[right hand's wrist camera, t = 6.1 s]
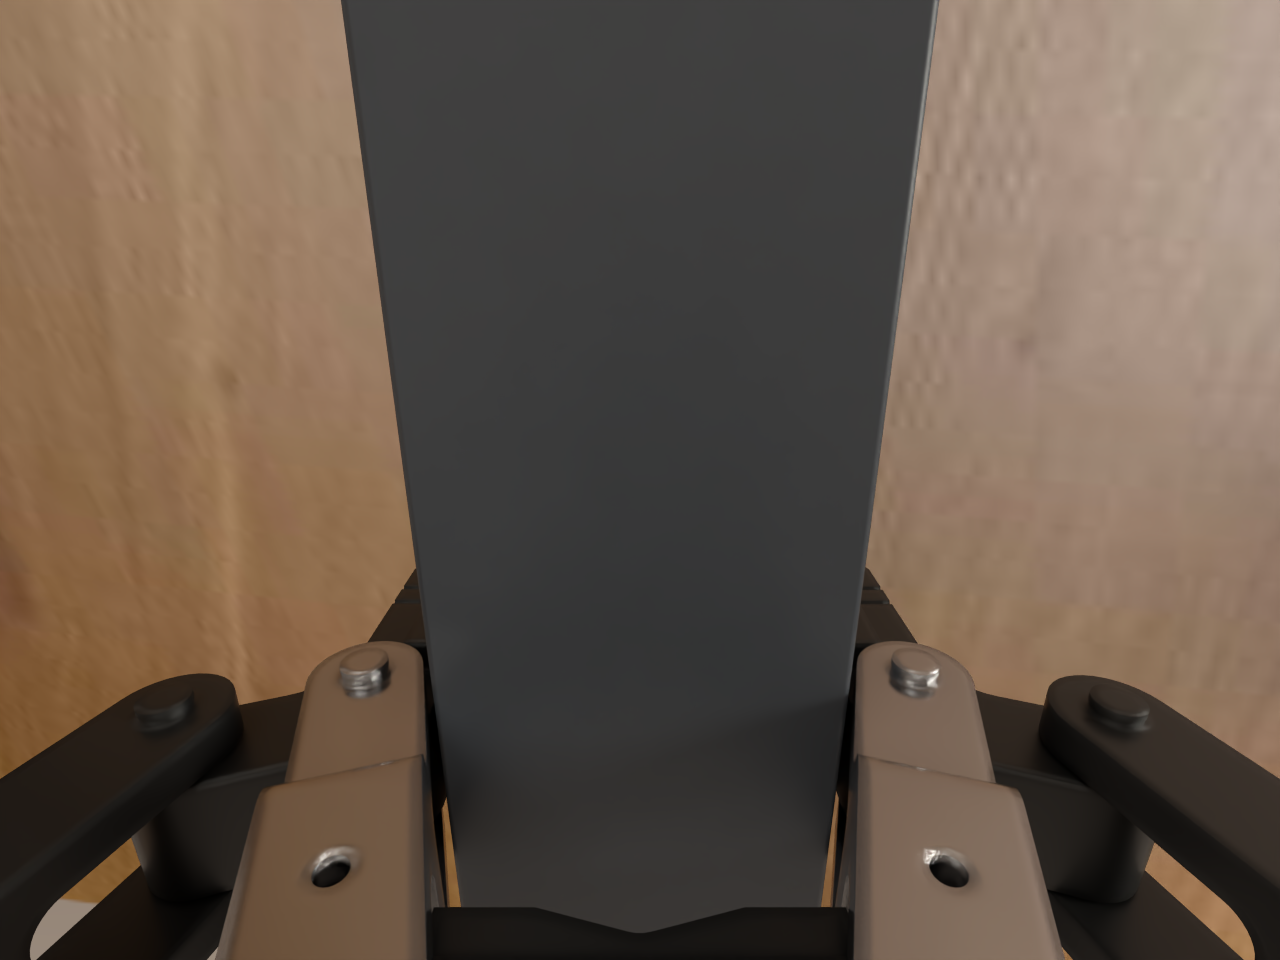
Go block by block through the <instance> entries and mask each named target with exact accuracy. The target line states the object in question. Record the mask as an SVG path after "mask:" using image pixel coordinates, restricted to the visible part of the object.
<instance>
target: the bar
mask: <svg viewBox="0 0 1280 960" xmlns="http://www.w3.org/2000/svg"><path fill="white" fill-rule="evenodd" d="M341 4H342V11H343V19H344V26H345V34H346V42H347V49H348V57H349V64H350V72H351V79H352V87H353V94H354V102H355V109H356V117H357V125H358V132H359V140H360V147H361V155H362V162H363V170H364V177H365V185H366V193H367V200H368V208H369V215H370V223H371V230H372V238H373V245H374V253H375V260H376V268H377V276H378V283H379V291H380V298H381V306H382V313H383V321H384V328H385V336H386V343H387V351H388V359H389V366H390V374H391V381H392V389H393V396H394V404H395V411H396V419H397V426H398V434H399V442H400V449H401V457H402V464H403V472H404V479H405V487H406V494H407V502H408V509H409V517H410V525H411V532H412V540H413V547H414V555H415V562H416V570H417V577H418V585H419V592H420V600H421V608H422V615H423V623H424V630H425V638H426V645H427V653H428V660H429V668H430V675H431V683H432V691H433V698H434V706H435V713H436V721H437V728H438V736H439V743H440V751H441V758H442V766H443V774H444V781H445V789H446V796H447V804H448V811H449V819H450V826H451V834H452V841H453V849H454V857H455V864H456V872H457V879H458V887H459V894H460V902H461V907H536V908H540V909H544V910H548V911H552V912H555V913H559V914H563V915H567V916H571V917H574V918H578V919H582V920H586V921H590V922H594V923H597V924H601V925H605V926H609V927H613V928H617V929H620V930H624V931H628V932H633V933H647V932H652V931H656V930H660V929H663V928H667V927H671V926H675V925H679V924H683V923H686V922H690V921H694V920H698V919H702V918H706V917H709V916H713V915H717V914H721V913H725V912H728V911H732V910H736V909H740V908H744V907H821V902H822V894H823V886H824V879H825V871H826V864H827V856H828V848H829V841H830V833H831V825H832V818H833V810H834V802H835V795H836V787H837V779H838V772H839V764H840V756H841V749H842V741H843V733H844V726H845V718H846V710H847V703H848V695H849V687H850V680H851V672H852V664H853V657H854V649H855V641H856V634H857V626H858V618H859V611H860V603H861V595H862V588H863V580H864V572H865V565H866V557H867V550H868V542H869V534H870V527H871V519H872V511H873V504H874V496H875V488H876V481H877V473H878V465H879V458H880V450H881V442H882V435H883V427H884V419H885V412H886V404H887V396H888V389H889V381H890V373H891V366H892V358H893V350H894V343H895V335H896V327H897V320H898V312H899V304H900V297H901V289H902V281H903V274H904V266H905V258H906V251H907V243H908V236H909V228H910V220H911V213H912V205H913V197H914V190H915V182H916V174H917V167H918V159H919V151H920V144H921V136H922V128H923V121H924V113H925V105H926V98H927V90H928V82H929V75H930V67H931V59H932V52H933V44H934V36H935V29H936V21H937V13H938V6H939V0H341Z"/></svg>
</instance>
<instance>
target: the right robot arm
mask: <svg viewBox="0 0 1280 960" xmlns="http://www.w3.org/2000/svg"><path fill="white" fill-rule="evenodd" d="M836 791H837V794H838V797H839V801H838V808H837V816H836V823H835V838H834V855H833V871H832V888H831V904H830V907H744V908H740V909H736V910H732V911H728V912H725V913H721V914H717V915H713V916H709V917H706V918H702V919H698V920H694V921H690V922H686V923H683V924H679V925H675V926H671V927H667V928H663V929H660V930H656V931H652V932H647V933H633V932H628V931H624V930H620V929H617V928H613V927H609V926H605V925H601V924H597V923H594V922H590V921H586V920H582V919H578V918H574V917H571V916H567V915H563V914H559V913H555V912H552V911H548V910H544V909H540V908H536V907H450V904H449V887H448V871H447V854H446V838H445V823H444V816H443V808H442V807H443V805H444V803H445V800H446V797H447V796H446V789H445V781H444V774H443V766H442V758H441V751H440V743H439V736H438V728H437V721H436V713H435V706H434V698H433V691H432V683H431V675H430V668H429V660H428V653H427V645H426V638H425V630H424V623H423V615H422V608H421V600H420V592H419V585H418V577H417V570H416V569H415V570H414V572H413V573H412V575H411V576H410V578H409V579H408V581H407V582H406V584H405V585H404V589H402V590H401V592H400V593H399V595H398V596H397V598H396V599H395V604H392V605H391V607H390V609H389V610H388V612H387V613H386V615H385V616H384V618H383V619H382V621H381V622H380V624H379V625H378V627H377V629H376V630H375V632H374V633H373V635H372V636H371V638H370V639H369V641H368V642H367V643H364V644H359V645H356V646H352V647H349V648H347V649H344V650H341V651H339V652H337V653H335V654H333V655H331V656H330V657H328V658H327V659H325V660H324V661H322V662H321V663H320V664H319V665H318V666H317V667H316V668H315V669H314V670H313V671H312V672H311V674H310V675H309V677H308V679H307V682H306V686H305V691H303V692H300V693H296V694H292V695H288V696H283V697H278V698H273V699H268V700H263V701H258V702H253V703H248V704H243V705H239V703H238V699H237V695H236V691H235V688H234V685H233V684H232V682H231V681H230V680H228V679H227V678H225V677H222V676H219V675H215V674H189V675H183V676H177V677H173V678H169V679H166V680H163V681H160V682H157V683H154V684H151V685H149V686H147V687H144V688H142V689H140V690H138V691H136V692H134V693H132V694H130V695H129V696H127V697H125V698H124V699H122V700H120V701H119V702H117V703H116V704H114V705H113V706H111V707H110V708H108V709H107V710H105V711H104V712H102V713H100V714H99V715H97V716H96V717H94V718H93V719H91V720H90V721H88V722H87V723H85V724H84V725H82V726H81V727H79V728H78V729H76V730H74V731H73V732H71V733H70V734H68V735H67V736H65V737H64V738H62V739H61V740H59V741H58V742H56V743H55V744H53V745H52V746H50V747H48V748H47V749H45V750H44V751H42V752H41V753H39V754H38V755H36V756H35V757H33V758H32V759H30V760H29V761H27V762H26V763H24V764H22V765H21V766H19V767H18V768H16V769H15V770H13V771H12V772H10V773H9V774H7V775H6V776H4V777H3V778H1V779H0V960H31V959H30V945H31V941H32V938H33V935H34V933H35V931H36V928H37V926H38V925H39V923H40V921H41V920H42V918H43V917H44V915H45V914H46V913H47V911H48V910H49V909H50V908H51V907H52V905H53V904H54V903H55V902H56V901H57V900H58V899H60V898H61V897H62V896H63V895H64V894H65V893H66V892H67V891H69V890H70V889H71V888H72V887H73V886H75V885H76V884H77V883H78V882H79V881H80V880H82V879H83V878H84V877H85V876H86V875H87V874H89V873H90V872H91V871H92V870H93V869H94V868H96V867H97V866H98V865H99V864H100V863H101V862H103V861H104V860H105V859H106V858H107V857H108V856H110V855H111V854H112V853H113V852H114V851H116V850H117V849H118V848H119V847H120V846H121V845H123V844H124V843H125V842H126V841H127V840H128V839H130V838H132V841H133V844H134V847H135V849H136V852H137V855H138V858H139V861H140V864H141V866H139V867H138V868H137V869H136V870H135V871H134V872H133V873H132V874H131V875H130V876H128V877H127V878H126V879H125V880H124V881H123V882H122V883H121V884H120V885H118V886H117V887H116V888H115V889H114V890H113V891H112V892H111V893H110V894H109V895H107V896H106V897H105V898H104V899H103V900H102V901H101V902H100V903H99V904H97V905H96V906H95V907H94V908H93V909H92V910H91V911H90V912H89V913H88V914H87V915H85V916H84V917H83V918H82V919H81V920H80V921H79V922H78V923H77V924H75V925H74V926H73V927H72V928H71V929H70V930H69V931H68V932H67V933H65V934H64V935H63V936H62V937H61V938H60V939H59V940H58V941H57V942H55V943H54V944H53V945H52V946H51V947H50V948H49V949H48V950H47V951H46V952H44V953H43V954H42V955H41V956H40V957H39V958H38V959H37V960H207V959H208V958H209V956H210V955H211V954H212V953H213V952H214V951H215V950H216V948H217V947H218V950H217V954H216V958H215V960H1065V958H1064V954H1063V950H1062V947H1063V949H1064V950H1065V951H1066V952H1067V953H1068V954H1069V955H1070V957H1071V958H1072V959H1073V960H1243V959H1242V958H1241V957H1240V956H1239V955H1238V954H1237V953H1236V952H1234V951H1233V950H1232V949H1231V948H1230V947H1229V946H1228V945H1227V944H1226V943H1225V942H1223V941H1222V940H1221V939H1220V938H1219V937H1218V936H1217V935H1216V934H1215V933H1213V932H1212V931H1211V930H1210V929H1209V928H1208V927H1207V926H1206V925H1205V924H1204V923H1202V922H1201V921H1200V920H1199V919H1198V918H1197V917H1196V916H1195V915H1194V914H1192V913H1191V912H1190V911H1189V910H1188V909H1187V908H1186V907H1185V906H1184V905H1183V904H1181V903H1180V902H1179V901H1178V900H1177V899H1176V898H1175V897H1174V896H1173V895H1171V894H1170V893H1169V892H1168V891H1167V890H1166V889H1165V888H1164V887H1163V886H1162V885H1160V884H1159V883H1158V882H1157V881H1156V880H1155V879H1154V878H1153V877H1152V876H1150V875H1149V874H1148V873H1147V872H1146V871H1145V868H1146V865H1147V862H1148V859H1149V856H1150V853H1151V851H1152V848H1153V845H1154V842H1155V843H1156V844H1157V845H1159V846H1160V847H1161V848H1162V849H1163V850H1165V851H1166V852H1167V853H1168V854H1169V855H1170V856H1172V857H1173V858H1174V859H1175V860H1176V861H1177V862H1179V863H1180V864H1181V865H1182V866H1183V867H1184V868H1186V869H1187V870H1188V871H1189V872H1190V873H1191V874H1193V875H1194V876H1195V877H1196V878H1197V879H1198V880H1200V881H1201V882H1202V883H1203V884H1204V885H1206V886H1207V887H1208V888H1209V889H1210V890H1211V891H1213V892H1214V893H1215V894H1216V895H1217V896H1218V897H1220V898H1221V899H1222V900H1223V901H1224V902H1225V903H1226V904H1227V905H1228V906H1229V907H1230V908H1231V909H1232V910H1233V911H1234V912H1235V913H1236V914H1237V916H1238V917H1239V918H1240V920H1241V921H1242V923H1243V924H1244V926H1245V928H1246V929H1247V931H1248V933H1249V935H1250V937H1251V940H1252V943H1253V946H1254V951H1255V960H1280V779H1279V778H1277V777H1276V776H1274V775H1273V774H1271V773H1270V772H1268V771H1267V770H1265V769H1264V768H1262V767H1261V766H1259V765H1258V764H1256V763H1254V762H1253V761H1251V760H1250V759H1248V758H1247V757H1245V756H1244V755H1242V754H1241V753H1239V752H1238V751H1236V750H1235V749H1233V748H1232V747H1230V746H1228V745H1227V744H1225V743H1224V742H1222V741H1221V740H1219V739H1218V738H1216V737H1215V736H1213V735H1212V734H1210V733H1209V732H1207V731H1206V730H1204V729H1202V728H1201V727H1199V726H1198V725H1196V724H1195V723H1193V722H1192V721H1190V720H1189V719H1187V718H1186V717H1184V716H1183V715H1181V714H1180V713H1178V712H1176V711H1175V710H1173V709H1172V708H1170V707H1169V706H1167V705H1166V704H1164V703H1163V702H1161V701H1160V700H1158V699H1156V698H1154V697H1153V696H1151V695H1149V694H1147V693H1145V692H1143V691H1141V690H1139V689H1137V688H1134V687H1132V686H1129V685H1127V684H1124V683H1121V682H1117V681H1114V680H1110V679H1106V678H1101V677H1095V676H1085V675H1074V676H1067V677H1063V678H1060V679H1058V680H1056V681H1054V682H1053V683H1052V684H1051V685H1050V686H1049V689H1048V691H1047V695H1046V699H1045V703H1044V706H1043V705H1038V704H1033V703H1028V702H1023V701H1018V700H1013V699H1008V698H1003V697H998V696H994V695H990V694H986V693H983V692H980V691H976V690H975V686H974V682H973V679H972V677H971V675H970V674H969V672H968V671H967V670H966V669H965V668H964V667H963V666H962V665H961V664H960V663H959V662H958V661H956V660H955V659H953V658H952V657H950V656H949V655H947V654H945V653H943V652H941V651H939V650H936V649H933V648H931V647H928V646H924V645H921V644H918V643H917V642H916V640H915V639H914V637H913V636H912V634H911V633H910V631H909V630H908V628H907V627H906V625H905V624H904V622H903V620H902V619H901V617H900V616H899V614H898V613H897V611H896V610H895V608H894V607H893V605H892V604H890V603H889V599H888V598H887V596H886V595H885V593H884V592H883V590H880V586H879V584H878V583H877V581H876V579H875V578H874V576H873V575H872V573H871V572H870V570H869V569H867V568H866V567H865V572H864V580H863V588H862V595H861V603H860V611H859V618H858V626H857V634H856V641H855V649H854V657H853V664H852V672H851V680H850V687H849V695H848V703H847V710H846V718H845V726H844V733H843V741H842V749H841V756H840V764H839V772H838V779H837V787H836Z"/></svg>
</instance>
